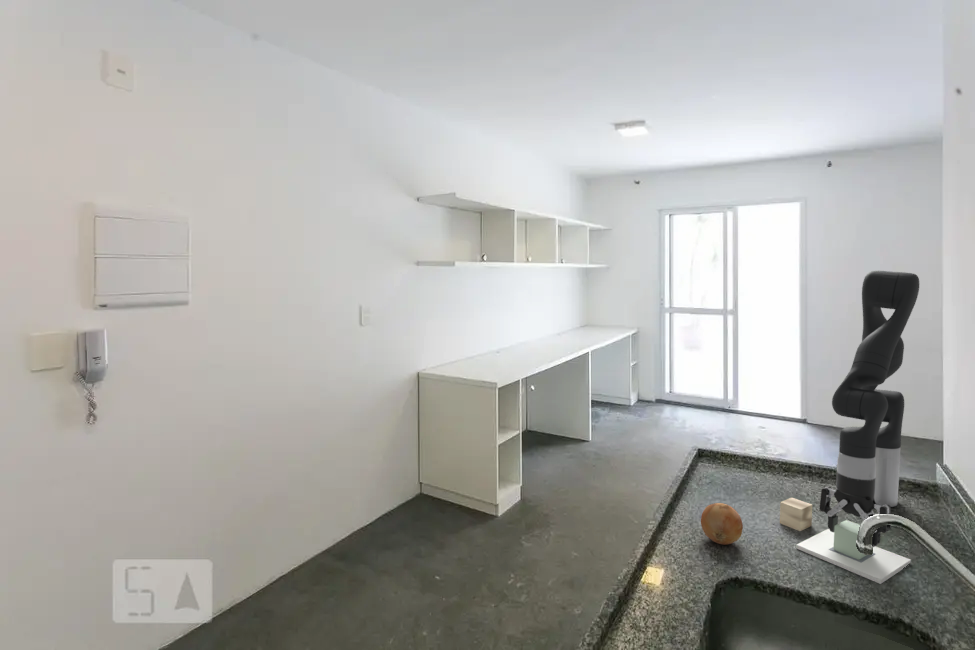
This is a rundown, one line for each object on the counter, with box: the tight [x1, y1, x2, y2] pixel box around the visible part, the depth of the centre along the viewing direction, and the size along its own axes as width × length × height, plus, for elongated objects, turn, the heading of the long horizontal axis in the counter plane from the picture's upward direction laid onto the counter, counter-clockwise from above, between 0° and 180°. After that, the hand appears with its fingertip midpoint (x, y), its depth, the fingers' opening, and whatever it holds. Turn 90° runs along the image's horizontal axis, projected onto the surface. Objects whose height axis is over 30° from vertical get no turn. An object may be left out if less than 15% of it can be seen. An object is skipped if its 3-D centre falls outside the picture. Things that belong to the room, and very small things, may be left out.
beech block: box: [779, 497, 813, 532], centre depth 143 cm, size 6×6×6 cm
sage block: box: [833, 519, 866, 560], centre depth 126 cm, size 6×6×6 cm
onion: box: [700, 502, 744, 546], centre depth 134 cm, size 10×10×10 cm
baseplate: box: [795, 528, 912, 585], centre depth 127 cm, size 15×18×1 cm
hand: (852, 538), depth 126 cm, fingers open, 8 cm apart
